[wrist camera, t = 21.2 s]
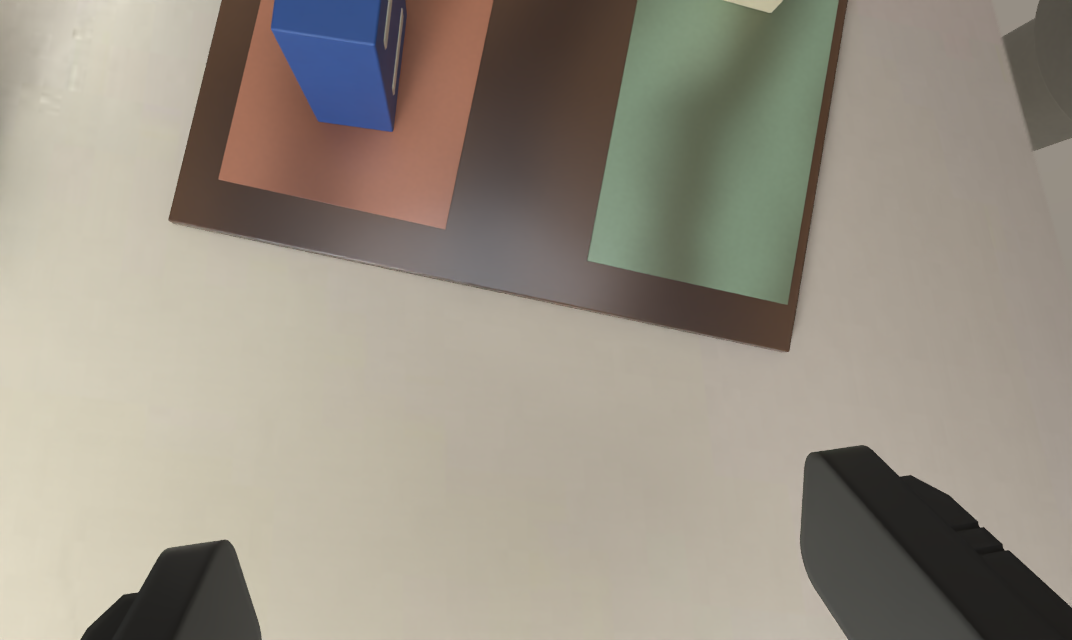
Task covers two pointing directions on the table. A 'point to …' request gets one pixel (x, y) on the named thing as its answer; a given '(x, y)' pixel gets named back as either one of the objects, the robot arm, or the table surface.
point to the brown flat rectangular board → (544, 154)
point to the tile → (758, 4)
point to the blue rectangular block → (345, 57)
